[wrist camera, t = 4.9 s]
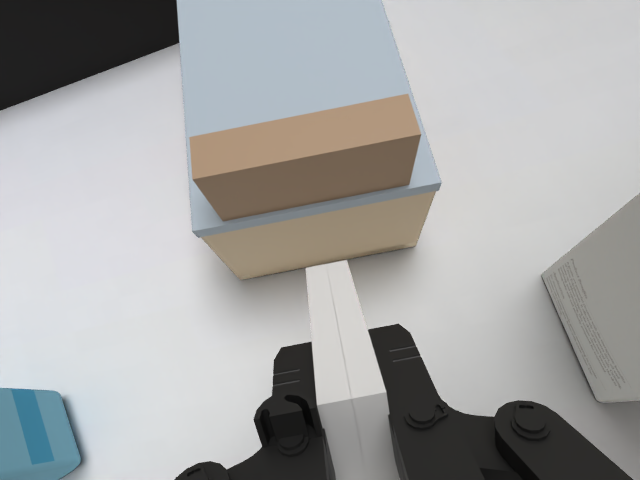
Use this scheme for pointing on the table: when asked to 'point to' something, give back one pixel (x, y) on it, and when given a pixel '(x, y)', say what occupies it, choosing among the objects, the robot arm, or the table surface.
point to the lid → (295, 111)
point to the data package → (35, 436)
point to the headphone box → (76, 40)
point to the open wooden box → (323, 237)
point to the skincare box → (603, 304)
